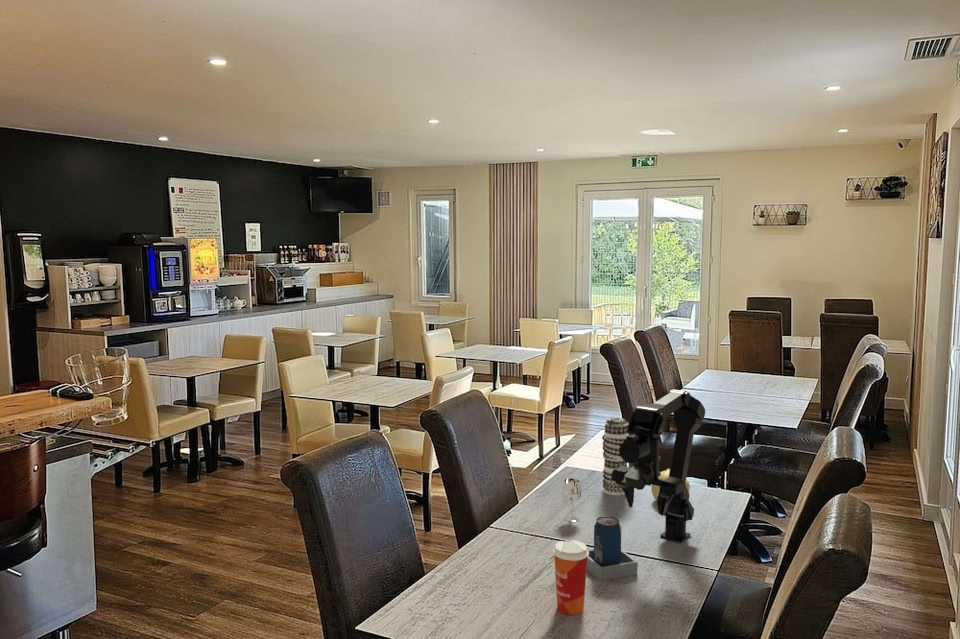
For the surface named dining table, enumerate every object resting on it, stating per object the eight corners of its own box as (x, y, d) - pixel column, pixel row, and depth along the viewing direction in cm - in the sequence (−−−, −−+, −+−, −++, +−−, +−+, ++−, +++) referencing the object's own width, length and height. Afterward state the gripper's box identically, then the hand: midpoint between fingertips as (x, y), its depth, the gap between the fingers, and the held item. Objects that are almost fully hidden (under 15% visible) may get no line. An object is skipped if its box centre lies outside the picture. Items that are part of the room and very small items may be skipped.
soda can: (623, 561, 187) (623, 517, 186) (617, 573, 181) (618, 527, 180) (597, 557, 190) (597, 513, 189) (590, 568, 184) (591, 523, 182)
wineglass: (580, 523, 215) (580, 484, 213) (561, 522, 216) (561, 483, 215) (581, 516, 220) (581, 478, 219) (562, 514, 222) (563, 477, 220)
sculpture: (693, 508, 226) (694, 475, 224) (655, 509, 226) (656, 475, 225) (684, 496, 237) (684, 464, 236) (647, 496, 237) (648, 464, 236)
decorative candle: (601, 495, 238) (602, 421, 236) (601, 485, 247) (602, 414, 245) (629, 496, 237) (630, 422, 234) (628, 486, 246) (629, 415, 243)
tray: (615, 557, 192) (616, 545, 192) (637, 574, 182) (637, 561, 182) (580, 563, 188) (580, 551, 188) (600, 581, 179) (600, 568, 178)
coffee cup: (549, 600, 169) (549, 539, 168) (583, 598, 170) (584, 538, 168) (556, 619, 161) (556, 555, 159) (592, 617, 162) (593, 553, 160)
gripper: (600, 454, 188) (600, 511, 190) (667, 468, 176) (665, 529, 178) (621, 444, 196) (621, 499, 198) (686, 458, 184) (684, 516, 186)
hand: (646, 511), depth 190 cm, fingers open, 9 cm apart
